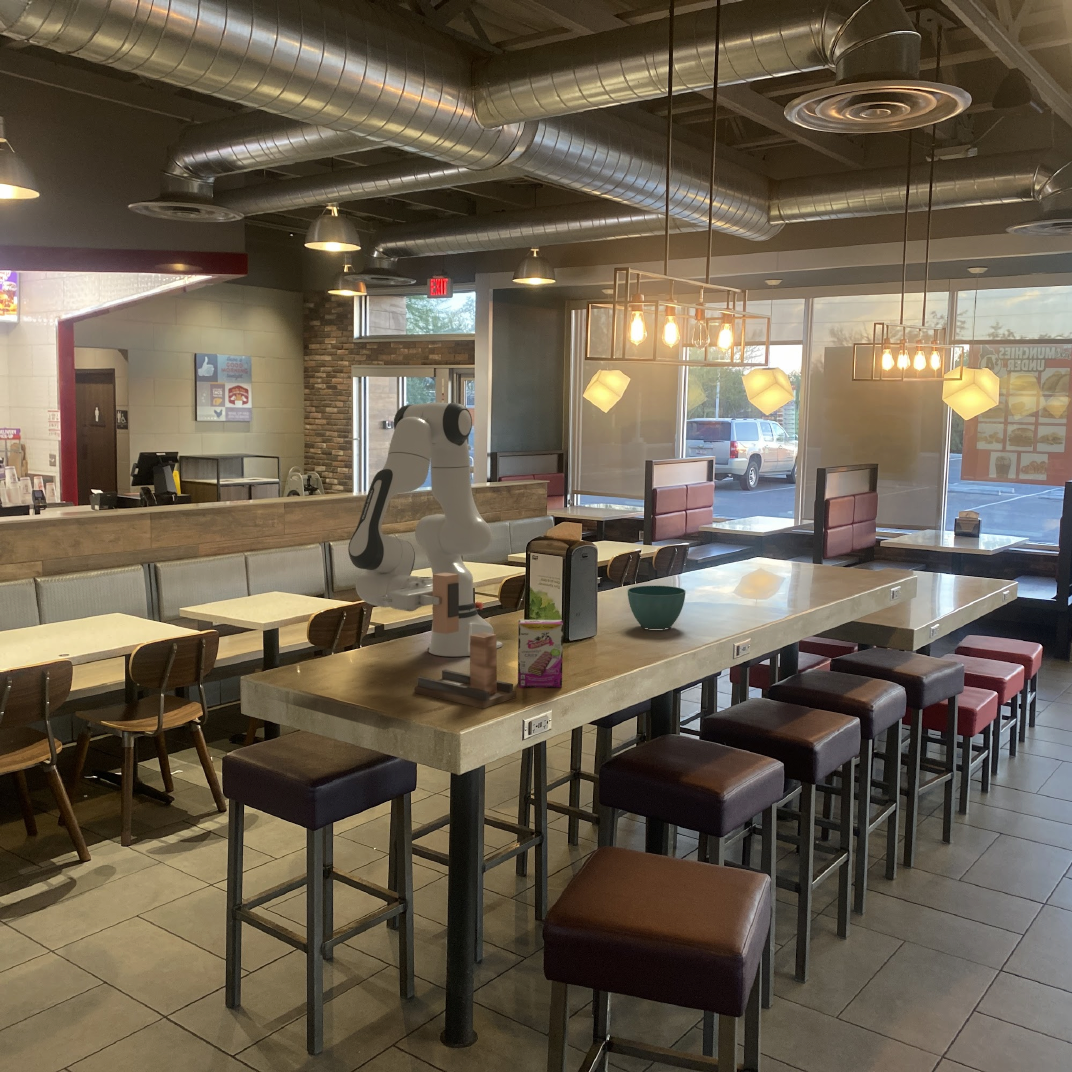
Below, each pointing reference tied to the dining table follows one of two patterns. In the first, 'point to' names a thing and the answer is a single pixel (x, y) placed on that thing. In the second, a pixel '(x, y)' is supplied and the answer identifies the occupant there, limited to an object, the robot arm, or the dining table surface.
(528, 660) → the candy bar box
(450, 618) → the tall tan pillar
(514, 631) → the dining table surface
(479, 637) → the wooden stand
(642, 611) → the dark green round bowl
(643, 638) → the dining table surface
